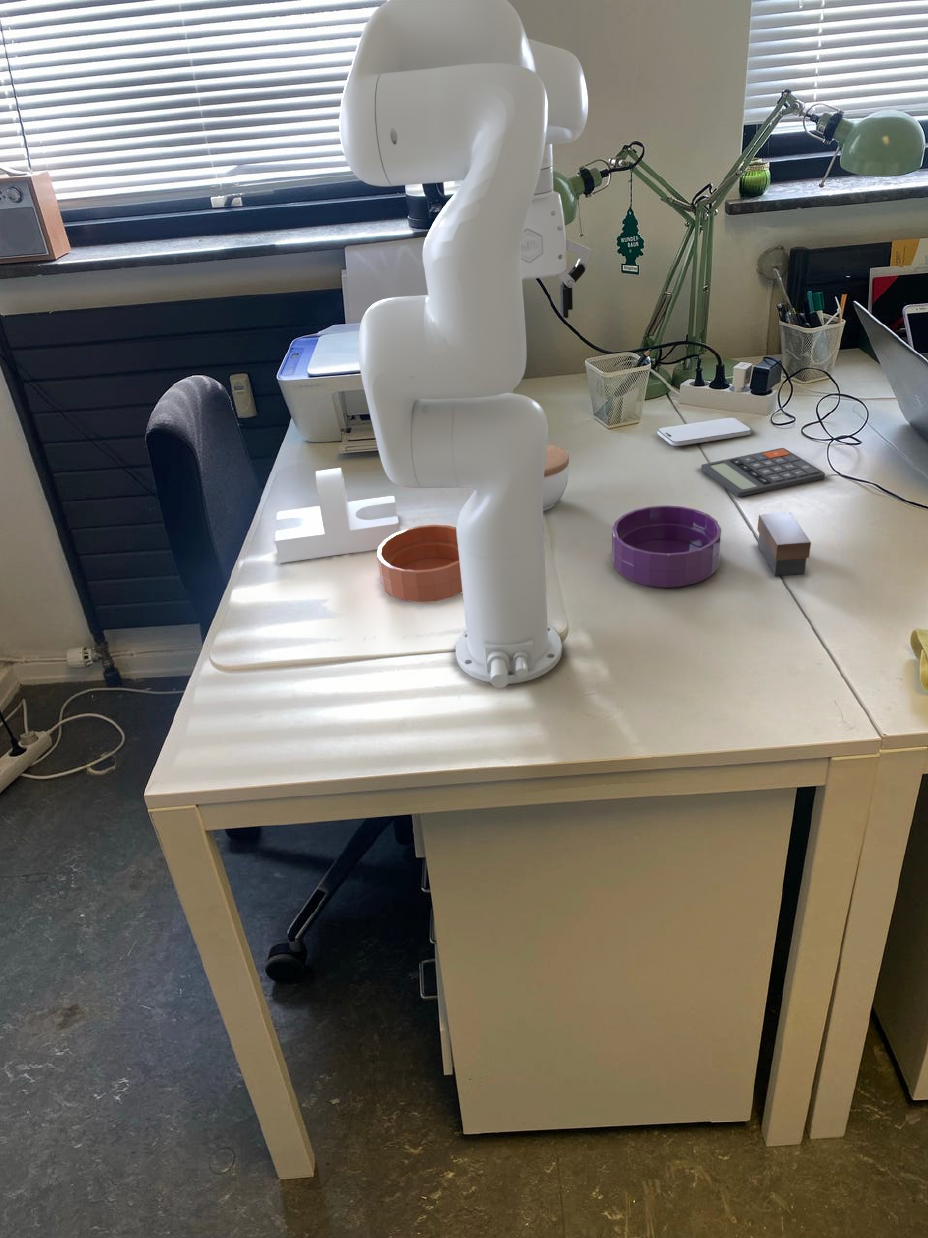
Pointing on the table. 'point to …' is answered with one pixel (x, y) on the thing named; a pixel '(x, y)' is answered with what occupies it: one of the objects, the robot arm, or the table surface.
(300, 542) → the white slotted stand
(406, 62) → the robot arm
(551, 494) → the trinket box
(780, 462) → the calculator
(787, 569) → the scrub brush
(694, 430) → the smartphone
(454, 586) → the terracotta bowl
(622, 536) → the plum bowl
